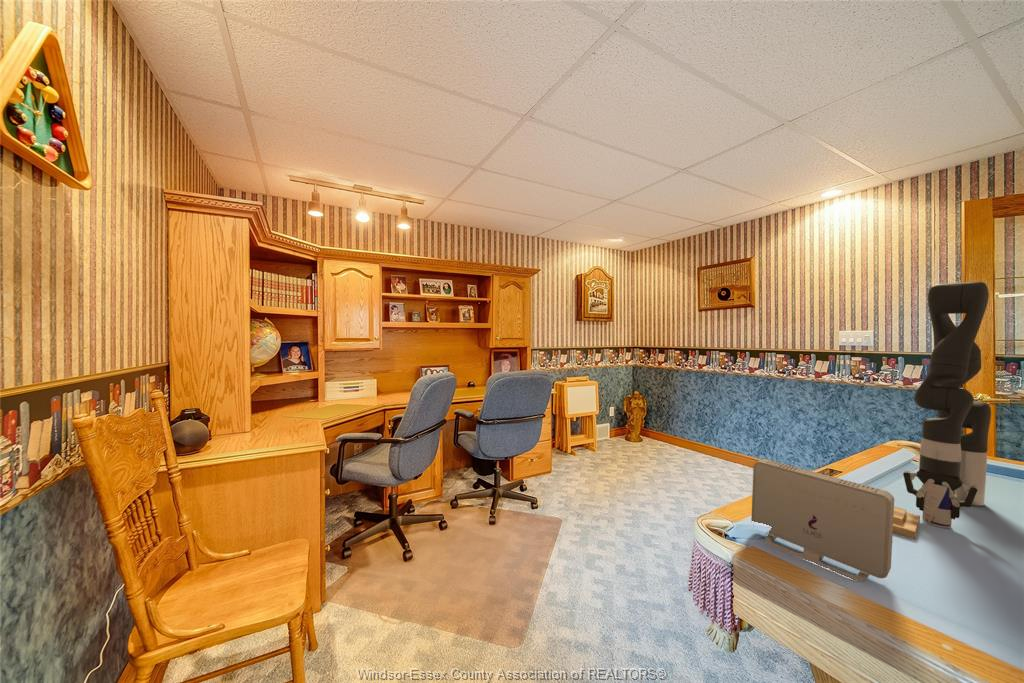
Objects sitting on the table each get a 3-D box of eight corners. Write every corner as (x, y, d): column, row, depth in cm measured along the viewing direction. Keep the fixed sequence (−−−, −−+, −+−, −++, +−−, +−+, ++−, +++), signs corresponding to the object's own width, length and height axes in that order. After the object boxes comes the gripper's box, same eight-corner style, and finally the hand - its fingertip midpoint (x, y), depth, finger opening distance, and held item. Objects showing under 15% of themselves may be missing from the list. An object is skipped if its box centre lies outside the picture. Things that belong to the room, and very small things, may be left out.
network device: (747, 535, 95) (750, 462, 94) (760, 525, 100) (763, 455, 99) (884, 594, 74) (889, 500, 73) (892, 578, 79) (896, 489, 79)
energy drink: (957, 530, 99) (959, 487, 99) (934, 527, 100) (936, 485, 100) (938, 520, 104) (940, 480, 104) (916, 518, 106) (918, 478, 105)
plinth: (853, 503, 114) (853, 492, 114) (919, 522, 103) (920, 510, 103) (843, 516, 106) (844, 505, 105) (914, 539, 94) (915, 526, 94)
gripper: (981, 460, 98) (977, 520, 99) (904, 446, 110) (901, 500, 110) (981, 466, 94) (977, 529, 94) (901, 451, 105) (898, 507, 106)
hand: (936, 513), depth 102 cm, fingers closed on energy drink, 5 cm apart
